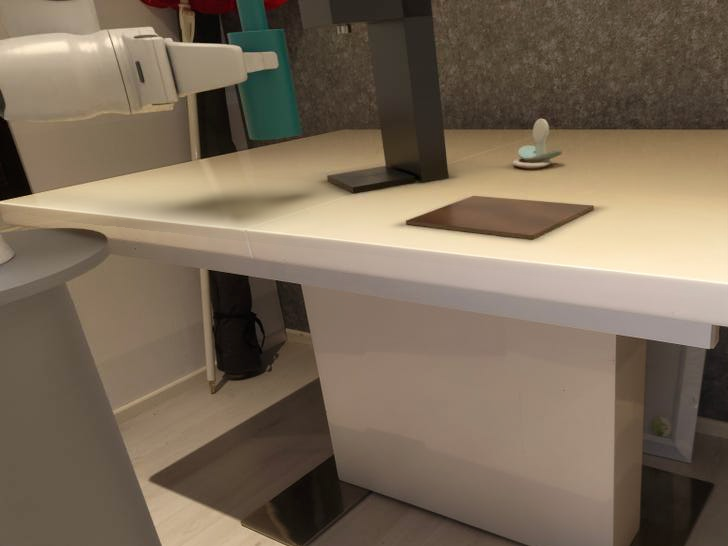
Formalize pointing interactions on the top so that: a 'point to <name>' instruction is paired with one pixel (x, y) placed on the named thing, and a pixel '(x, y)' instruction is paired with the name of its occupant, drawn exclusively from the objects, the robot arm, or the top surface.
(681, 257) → the top surface
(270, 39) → the bottle
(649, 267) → the top surface
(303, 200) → the top surface
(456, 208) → the board
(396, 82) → the dark post on base
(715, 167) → the top surface
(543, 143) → the pacifier
